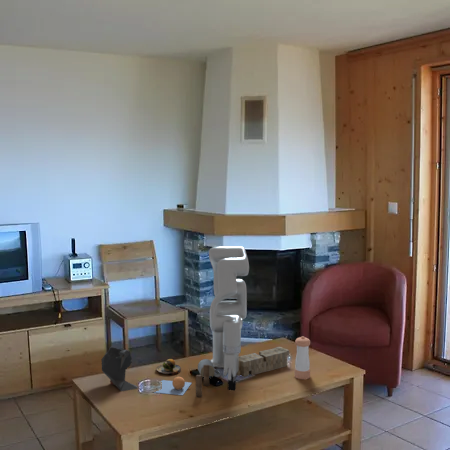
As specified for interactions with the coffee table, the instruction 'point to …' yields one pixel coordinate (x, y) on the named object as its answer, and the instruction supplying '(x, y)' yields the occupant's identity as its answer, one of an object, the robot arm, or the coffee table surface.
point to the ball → (178, 383)
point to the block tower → (262, 361)
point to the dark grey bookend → (117, 367)
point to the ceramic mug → (211, 368)
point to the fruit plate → (169, 367)
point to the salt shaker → (302, 358)
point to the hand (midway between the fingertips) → (231, 389)
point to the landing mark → (172, 388)
